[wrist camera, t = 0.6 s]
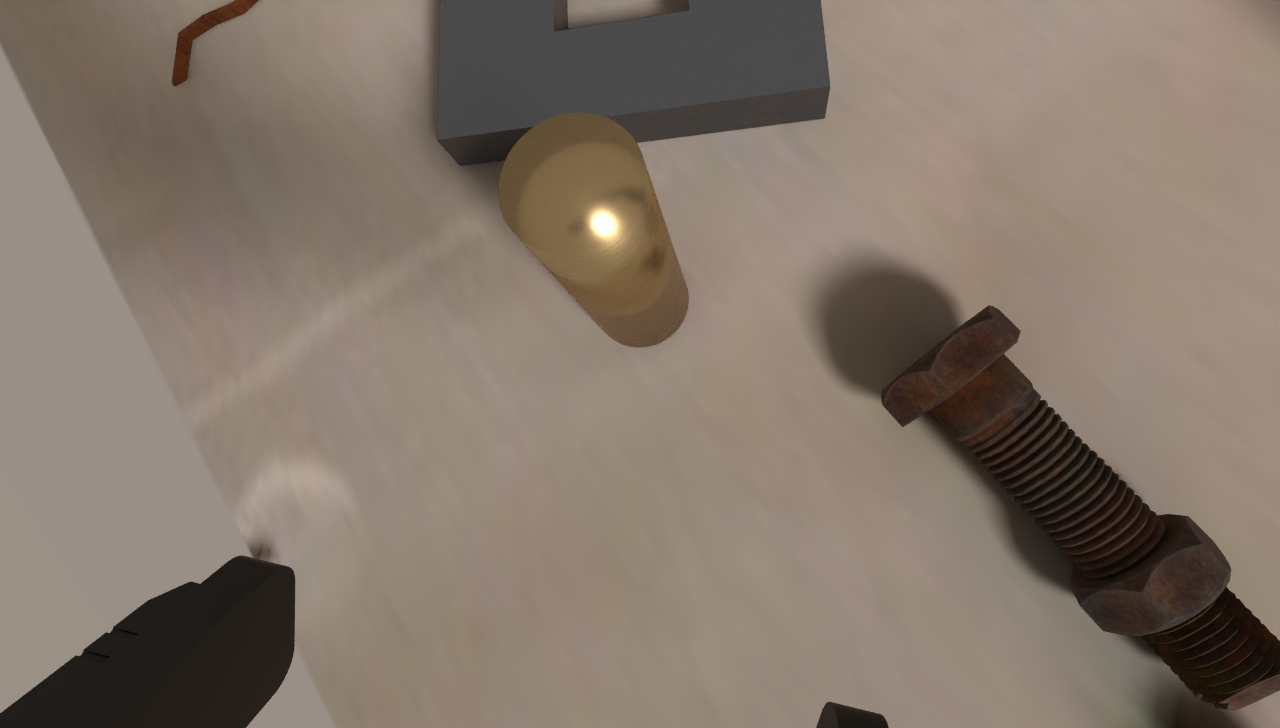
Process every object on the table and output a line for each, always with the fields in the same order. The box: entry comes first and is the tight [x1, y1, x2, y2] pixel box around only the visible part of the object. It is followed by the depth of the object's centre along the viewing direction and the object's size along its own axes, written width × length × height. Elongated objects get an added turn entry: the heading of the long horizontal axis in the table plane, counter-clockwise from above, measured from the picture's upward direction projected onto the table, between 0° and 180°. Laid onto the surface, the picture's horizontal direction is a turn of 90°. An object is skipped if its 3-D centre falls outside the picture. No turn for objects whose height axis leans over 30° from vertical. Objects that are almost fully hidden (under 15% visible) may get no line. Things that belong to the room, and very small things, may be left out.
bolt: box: [881, 306, 1280, 710], centre depth 24 cm, size 6×5×15 cm
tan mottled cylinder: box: [498, 112, 689, 347], centre depth 25 cm, size 4×4×12 cm
